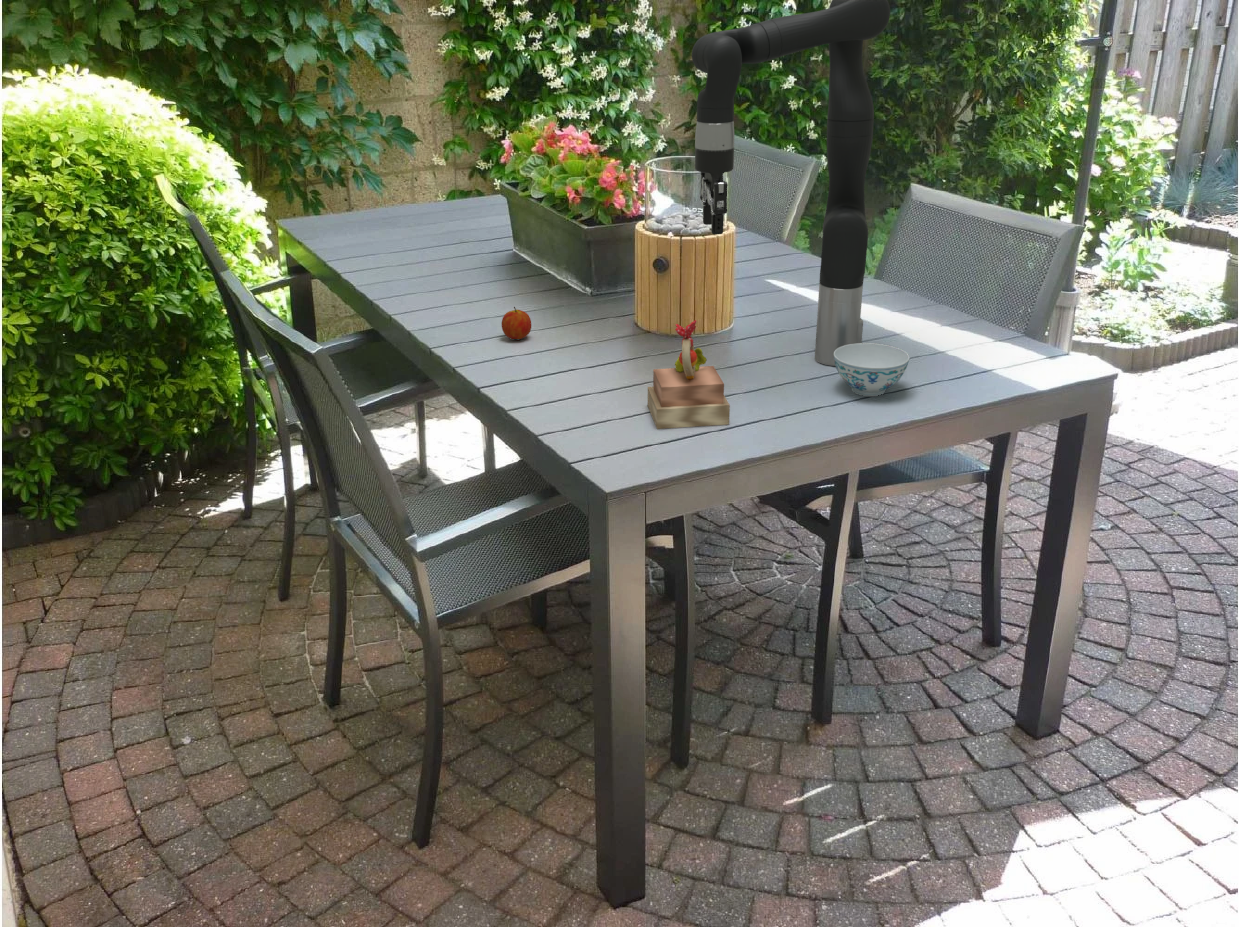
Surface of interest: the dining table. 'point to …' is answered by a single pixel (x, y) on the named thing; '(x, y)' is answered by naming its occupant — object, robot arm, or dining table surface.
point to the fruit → (516, 324)
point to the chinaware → (870, 366)
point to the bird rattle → (689, 352)
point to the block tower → (687, 399)
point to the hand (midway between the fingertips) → (712, 228)
